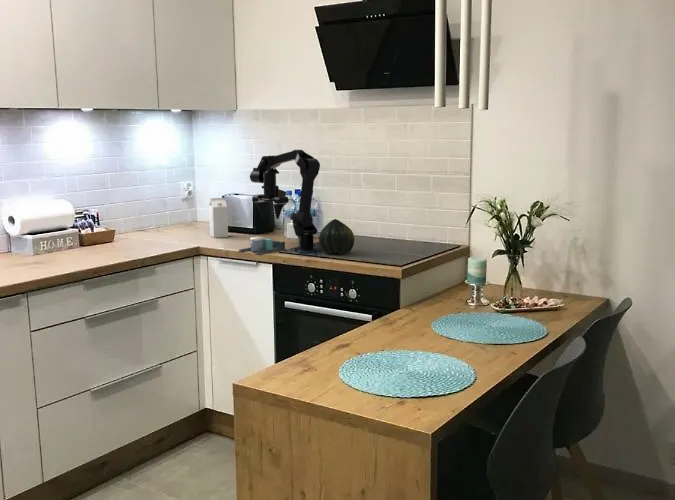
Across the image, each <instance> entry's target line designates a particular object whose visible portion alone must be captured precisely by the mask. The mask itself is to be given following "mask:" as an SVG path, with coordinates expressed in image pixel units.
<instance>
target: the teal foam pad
mask: <svg viewBox="0 0 675 500" xmlns="http://www.w3.org/2000/svg"><path fill="white" fill-rule="evenodd" d="M272 240H273V239H272V238H265V237H264V250H263V251H265V250H270V249H272Z"/></svg>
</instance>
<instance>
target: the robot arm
mask: <svg viewBox="0 0 675 500" xmlns="http://www.w3.org/2000/svg"><path fill="white" fill-rule="evenodd" d="M292 161H294V162H295V165H296V166H297V167H299V174H300V176H301V178H302V180H301V181H302V182H301V188H300V189H301V191H300V198H299V205H298V206H299V207H298V212H296V213H297V214H294V215H293V222H292V223H293V228H294V231H295V234H296V236H299V239H298V247H296V249H297V250H301V251H310V250H317V247H315V246H314V245H315V244H314V235H317V234H318V229H317V227H316V226H315V225H314V222H313V221H314V220H313V216H312V213H311V207H312V200H313V199H312V198H313V192H314V191H313V190H314V184H315V179H316V178H317V177H318V175H319V171H320V168H321V163H320V162H319V160H318V159H317V158H315V157H314V156H312V155H310V154H309V153H306V151H304V150H303V149H293V150H291V151H287V152H284V153H281V154H277V155H263V156H261V159H260V161H259V163H258V165H257V167H253V168H252V171H250V173H249V174H250V175H249V179H250V182H251V183H255V184H256V183H258V184H263V185H261V189H263V194H253V195H252V197H251V201H252V202H253V203H254V204H255V205H256V207H257V209H258V211H259V213H260V214H261V217H262V218H265V217H266V205H267V203H268V202H273V210H274V214H275V217H276V218H275V219H277V220H278V219H280V216H281V213H282V211H283V208H284V207H285V205H287V204H289V203H290V199H289V197H288V196H287V191H285V190H282V189H279V187H280V186H279V185H277V175H278V174H279V175H280V172H279V170H277V168H278V167H279V166H280V165H282V164H285V163H288V162H292Z"/></svg>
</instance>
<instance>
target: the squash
mask: <svg viewBox="0 0 675 500" xmlns="http://www.w3.org/2000/svg"><path fill="white" fill-rule="evenodd" d="M318 244H319V246H320V249H321V250H322V251H323V253H325V254H327V253H328V254H334V253H338V254H340V255H344V254H346V253H350V251H352V249H353V248H354V245H355V234H354V231H352V229H351V228H350V227H349V226H347V225H346V224H345V223H343V222H342V221H340V220H339V219H337V218H335V219H332V220H330V221H329V222H328V223H326V225H324V227H323V228H322V229H321V231H320V234H319V236H318Z"/></svg>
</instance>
